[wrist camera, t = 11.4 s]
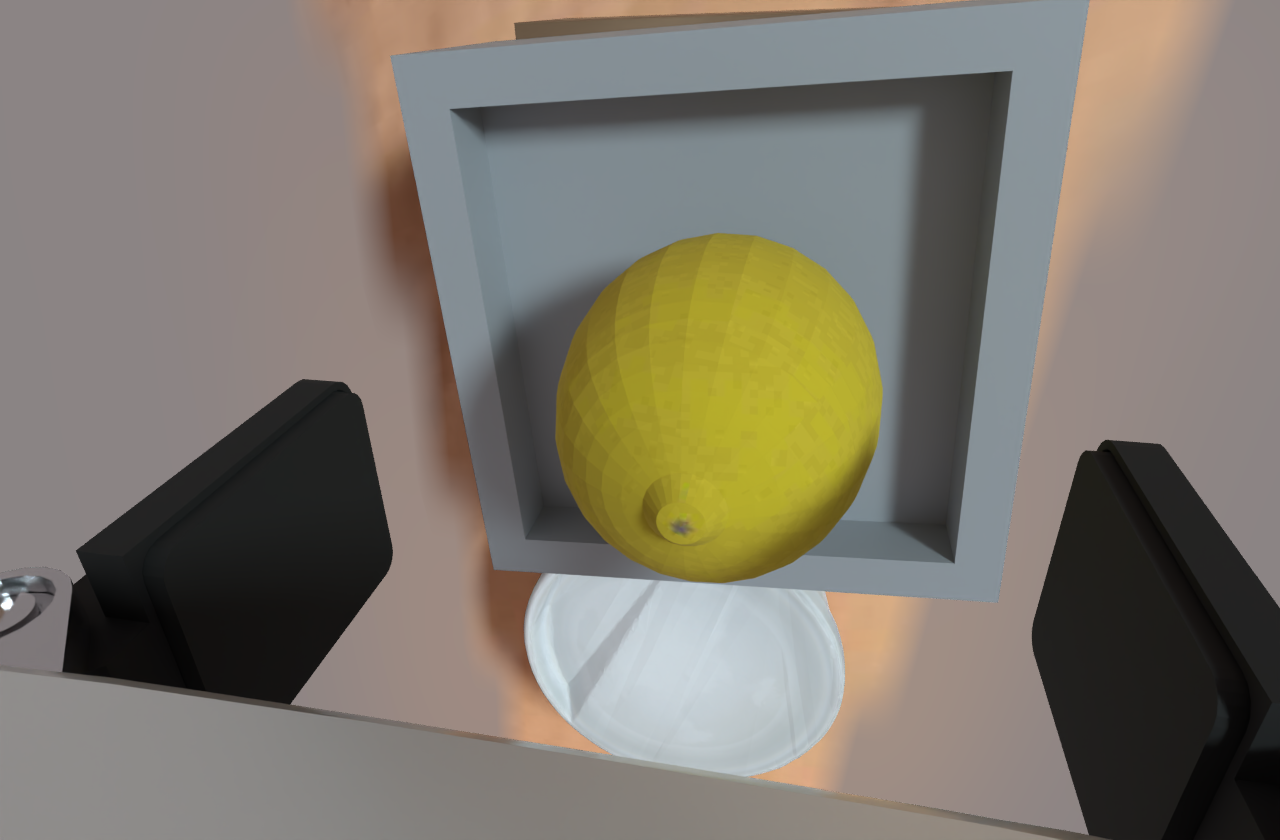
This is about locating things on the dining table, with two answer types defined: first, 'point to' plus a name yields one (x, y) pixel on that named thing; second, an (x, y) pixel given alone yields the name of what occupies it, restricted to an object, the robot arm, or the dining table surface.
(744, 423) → the lemon
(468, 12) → the dining table surface
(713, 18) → the tower bottom block
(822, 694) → the ramekin
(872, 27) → the tower top block
